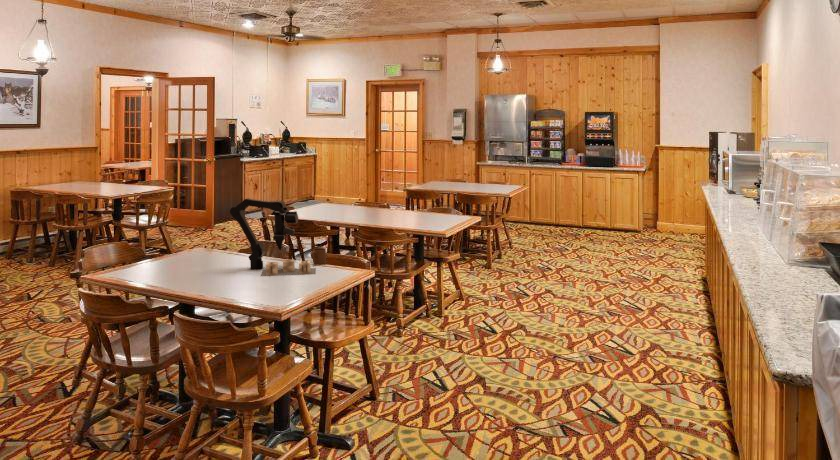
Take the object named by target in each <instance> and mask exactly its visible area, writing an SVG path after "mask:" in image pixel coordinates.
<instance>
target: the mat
mask: <svg viewBox="0 0 840 460" xmlns="http://www.w3.org/2000/svg"><path fill="white" fill-rule="evenodd" d="M316 269H317V267H315V268H314V267H313V268H311V267H310V274H299V268H295V270H294V272H283V268H281V269H280V268H278V274H277V275H266V269H262V271H261V272H260V273H261V274H260V277H276V276H277V277H278V276H283V277H284V276H305V275H316V273H317V271H316Z"/></svg>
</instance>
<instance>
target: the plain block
mask: <svg viewBox="0 0 840 460" xmlns="http://www.w3.org/2000/svg"><path fill="white" fill-rule="evenodd" d="M282 269H283V272H294V270H295V269H296V268H295V259H294V258H293V259H283V261H282Z"/></svg>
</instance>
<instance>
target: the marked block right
mask: <svg viewBox="0 0 840 460" xmlns="http://www.w3.org/2000/svg"><path fill="white" fill-rule="evenodd" d="M310 268H311V260H302V261H301V260H300V261H299V262H298V269H299V274H310ZM310 275H311V274H310Z"/></svg>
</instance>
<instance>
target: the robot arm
mask: <svg viewBox="0 0 840 460" xmlns="http://www.w3.org/2000/svg"><path fill="white" fill-rule="evenodd" d="M248 207H256V208H261V209H263V208H264V209H268V210H271V211H272V213H270V216H273V217H274V232H273V233H274V235H273V236H272V240H273V241H275V244H276V246H277V248H278V250H279V251H281V250H282V247H283V243H284V242H283V241H284V240H286V236H288V235H289V236H291V237H293V236H294V234H295V232H296V230H295V229H294V226H291V225H290V226H289V227H288V226H286V225H287V224H298V223H299V216H298V211H297V210H296V211H295V210H294V211H290V210H289V209H288V208H287V205H286V203H285V202H284V201H283V200H271V201H270V200H262V199H254V198H249V197H248V198H244V199H243V200H242V202H240V203H239V204H237V205H236V206H232V207H231V208H230V209H229V214H230V216H231V217H232V218H233V219H234V220H235V221H236V222H237V223H238V226H240V229H241V230H242V232H243V234H244V235H245V237H246V240H247V241H248V243H249V244H250V245H249V246H250V250H251V251H250V252H251V254H250V255H249V256H248V259H249V262H250V263H249V264H250V269H249V270H250V271H253V270H255V271H256V270H264V260H263V256H264V255H265V254H266V253H267V252H266V251H267V250H266V248H267V247H266V246H265V245H264V242H263V241H261V242H260V241H259V240H258V239H257V237H256V235H255V233H254V231H253V230H252V228H251V226H250V225H249V222H248V220H247V219H246V213H245V210H247V208H248ZM285 222H286V223H285Z"/></svg>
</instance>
